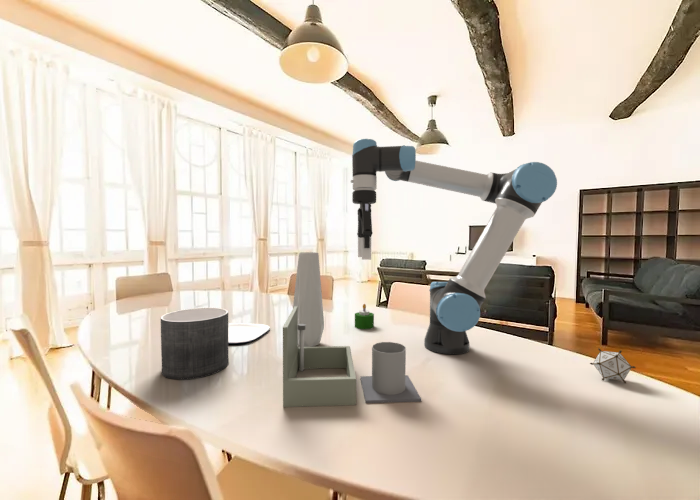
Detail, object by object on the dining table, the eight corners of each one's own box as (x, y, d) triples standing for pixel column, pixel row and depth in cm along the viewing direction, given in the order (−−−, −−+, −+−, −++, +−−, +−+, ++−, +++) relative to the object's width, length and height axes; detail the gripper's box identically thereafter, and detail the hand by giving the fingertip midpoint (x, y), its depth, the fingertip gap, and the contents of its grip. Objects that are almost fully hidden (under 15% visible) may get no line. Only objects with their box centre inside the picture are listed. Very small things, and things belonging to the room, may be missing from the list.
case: (350, 366, 95) (350, 305, 94) (355, 404, 72) (356, 326, 72) (294, 367, 94) (294, 306, 93) (283, 407, 71) (282, 327, 71)
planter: (241, 361, 98) (241, 310, 98) (191, 385, 82) (190, 324, 82) (200, 352, 106) (200, 305, 105) (147, 373, 90) (146, 317, 89)
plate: (220, 325, 140) (220, 322, 140) (275, 328, 137) (275, 324, 137) (182, 344, 115) (182, 339, 115) (249, 348, 112) (248, 343, 112)
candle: (353, 328, 135) (353, 305, 134) (356, 323, 143) (356, 301, 142) (372, 329, 133) (373, 306, 133) (374, 324, 141) (374, 302, 141)
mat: (407, 377, 87) (407, 375, 87) (421, 401, 74) (421, 398, 74) (360, 378, 86) (360, 376, 86) (365, 403, 73) (365, 400, 73)
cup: (404, 396, 75) (405, 354, 75) (370, 392, 77) (370, 351, 77) (405, 380, 84) (406, 343, 83) (374, 378, 85) (374, 341, 85)
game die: (613, 391, 87) (632, 361, 88) (628, 393, 80) (648, 360, 80) (578, 369, 91) (597, 340, 92) (589, 369, 83) (609, 338, 84)
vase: (332, 345, 113) (332, 252, 112) (302, 352, 106) (302, 253, 105) (316, 337, 123) (316, 251, 122) (288, 342, 117) (287, 252, 115)
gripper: (350, 196, 112) (349, 256, 113) (355, 183, 88) (355, 260, 88) (371, 196, 113) (370, 256, 114) (382, 183, 88) (382, 260, 89)
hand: (364, 258), depth 101 cm, fingers open, 13 cm apart
